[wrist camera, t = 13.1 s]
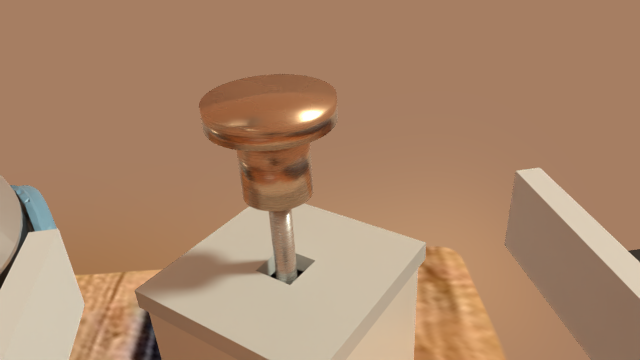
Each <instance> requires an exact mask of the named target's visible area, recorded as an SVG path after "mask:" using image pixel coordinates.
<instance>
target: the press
mask: <svg viewBox="0 0 640 360" xmlns="http://www.w3.org/2000/svg"><path fill="white" fill-rule="evenodd" d="M291 211H292V222H293V232H294V243H295V254H296V265H297V276H298V278H297V279H296V280H295V281H294V282H293V283H292V284H291V285H289V284H286V283H284V282H282V281H279V280H277V279H276V271H275V263H274V254H273V245H272V237H271V228H270V220H269V211H262V210H258V209H255V208H252V207H251V206H249V207H248V208H246V209H245V210H244V211H242V212H241V213H240V214H238V215H237V216H236V217H234V218H233V219H231V220H230V221H229V222H227V223H226V224H225V225H223V226H222V227H220V228H219V229H218V230H216V231H215V232H214V233H212V234H211V235H210V236H208V237H207V238H206V239H204V240H203V241H201V242H200V243H199V244H197V245H196V246H194V247H193V248H192V249H191V250H189V251H188V252H186V253H185V254H184V255H182V256H181V257H179V258H178V259H177V260H175V261H174V262H173V263H171V264H170V265H168V266H167V267H166V268H164V269H163V270H162V271H160V272H159V273H158V274H156V275H155V276H153V277H152V278H151V279H149V280H148V281H147V282H145V283H144V284H142V285H141V286H140V287H138V288H137V289H136V290H135V293H136V297H137V301H138V304H139V307H140V308H142V309H144V310H146V311H148V312H149V314H150V317H151V321H152V325H153V328H154V332H155V336H156V339H157V343H158V347H159V350H160V354H161V358H162V360H414V339H415V318H416V296H417V274H418V267H419V266H420V265H421V264H422V262H423V261H424V260H425V250H426V242H423V241H419V240H416V239H413V238H410V237H407V236H404V235H401V234H398V233H394V232H391V231H388V230H385V229H382V228H379V227H376V226H373V225H370V224H367V223H363V222H360V221H357V220H354V219H351V218H348V217H345V216H342V215H339V214H335V213H332V212H329V211H326V210H323V209H320V208H316V207H314V206H311V205H307V204H302V205H300V206H298V207H295V208H293V209H291Z"/></svg>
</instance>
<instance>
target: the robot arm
mask: <svg viewBox="0 0 640 360" xmlns="http://www.w3.org/2000/svg"><path fill="white" fill-rule="evenodd" d="M505 246H506V248H507V249H508V250H509V251H510V253H511V254H512V255H513V257H514V258H515V259H516V261H517V262H518V263H519V265H520V266H521V267H522V269H523V270H524V271H525V273H526V274H527V275H528V277H529V278H530V279H531V281H532V282H533V283H534V285H535V286H536V287H537V288H538V290H539V291H540V293H541V294H542V295H543V296H544V298H545V299H546V301H547V302H548V303H549V305H550V306H551V307H552V308H553V310H554V311H555V312H556V314H557V315H558V316H559V318H560V319H561V320H562V322H563V323H564V324H565V326H566V327H567V328H568V330H569V331H570V332H571V334H572V335H573V336H574V338H575V339H576V340H577V342H578V343H579V344H580V346H581V347H582V348H583V350H584V351H585V352H586V354H587V355H588V356H589V358H590V359H591V360H640V249H638V250H631V251H627V250H626V249H625V248H624V247H623V246H622V245H621V244H620V243H619V242H618V241H617V240H616V239H615V238H614V237H612V235H610V234H609V233H608V232H607V231H606V230H605V229H604V228H603V227H602V226H601V225H600V224H599V223H598V222H597V221H596V220H595V219H593V218H592V217H591V216H590V215H589V214H588V213H587V212H586V211H585V210H584V209H583V208H582V207H581V206H580V205H579V204H578V203H577V202H576V201H574V200H573V199H572V198H571V197H570V196H569V195H568V194H567V193H566V192H565V191H564V190H563V189H562V188H561V187H560V186H559V185H557V184H556V183H555V182H554V181H553V180H552V179H551V178H550V177H549V176H548V175H547V174H546V173H545V172H544V171H543V170H542V169H541V168H534V169H526V170H519V171H516V173H515V180H514V186H513V193H512V199H511V206H510V213H509V219H508V226H507V232H506V239H505ZM84 306H85V304H84V301H83V298H82V295H81V292H80V290H79V287H78V284H77V281H76V278H75V275H74V273H73V269H72V267H71V264H70V261H69V258H68V255H67V252H66V249H65V246H64V243H63V241H62V238H61V235H60V232H59V229H57V228H56V225H55V223H54V220H53V218H52V215H51V213H50V210H49V208H48V206H47V204H46V202H45V200H44V198H43V196H42V195H41V193H40V192H39V191H38V190H37V189H35V188H34V187H31V186H28V185H26V186H12V185H9V184H8V182H7V181H6V180H5V179H4V178H3V177H2V176H1V175H0V360H69V357H70V354H71V350H72V347H73V344H74V340H75V337H76V333H77V330H78V326H79V323H80V319H81V316H82V313H83V309H84Z"/></svg>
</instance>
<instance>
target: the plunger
mask: <svg viewBox="0 0 640 360" xmlns="http://www.w3.org/2000/svg"><path fill="white" fill-rule="evenodd" d="M336 99H337V96H336V91H335V89H334V88H333V86H331V85H330V84H328V83H327V82H325V81H322V80H320V79H316V78H313V77H308V76H302V75H289V74H274V75H262V76H254V77H248V78H243V79H239V80H236V81H232V82H229V83H226V84H223V85H221V86H218V87H216V88H214V89H212V90H211V91H209V92H208V93H207V94H206V95H204V96H203V98H202V99H201V101H200V103H199V108H200V114H201V120H202V125H203V131H204V134H205V136H206V137H207V138H208V139H209V140H211V141H212V142H213V143H215V144H218V145H220V146H223V147H226V148H230V149H235V150H237V158H238V165H239V172H240V179H241V186H242V193H243V199H244V201H245V202H246V203H247V204H248V205H249V206H251V207H252V208H255V209H258V210H262V211H269V220H270V228H271V237H272V245H273V254H274V263H275V271H276V279H277V280H279V281H282V282H284V283H286V284H289V285H291V284H292V283H293V282H294V281H295V280H296V279H297V278H298V276H297V265H296V254H295V243H294V232H293V222H292V211H291V209H293V208H295V207H298V206H300V205H302V204H304V203H305V202H306V201H308V200H309V198H310V197H311V195H312V193H313V184H312V168H311V153H310V142H312V141H315V140H317V139H319V138H321V137H323V136H324V135H326V134H327V133H328V132H330V131H331V130H332V129H333V128H334V127H335V125H336V123H337V100H336Z"/></svg>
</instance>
